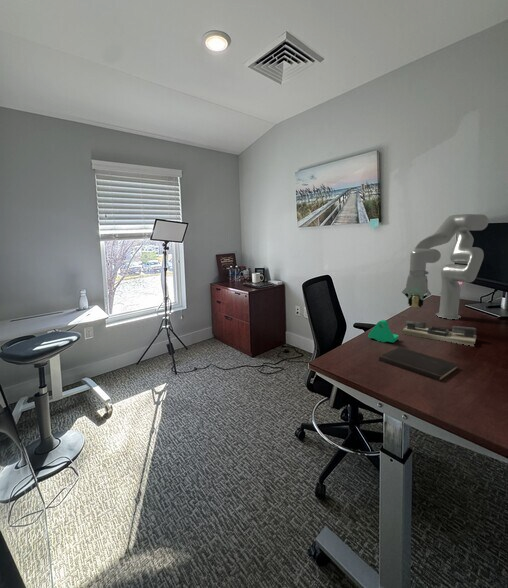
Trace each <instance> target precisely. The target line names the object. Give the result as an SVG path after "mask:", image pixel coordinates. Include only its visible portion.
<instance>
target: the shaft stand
mask: <svg viewBox="0 0 508 588" xmlns="http://www.w3.org/2000/svg"><path fill="white" fill-rule="evenodd" d="M451 328H452V329H451V331H450V330H449V328H445V327H444V328H443V327H437V326H436V327H435V326H429V327H427V322H421V321H416V320H415V321H414V320H409V319H408V320H405V327H404V328H403V329H401V334H402V335H405V334H406V335H405V336H411V335H412V336H411V337H417V338H422V337H423V339H428V338H429V339H430V340H434V341H439V340H440V341H441V342H445V341H446V342H447V343H451V342H452V344H456V343H457V345H462V344H464V345H463V346H468V345H470V346H469V347H475V345H474V344H476V340H477V328H476V327H471V326H470V327H469V326H458V325H452V327H451ZM440 341H439V342H440Z"/></svg>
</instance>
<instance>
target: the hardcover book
mask: <svg viewBox="0 0 508 588" xmlns="http://www.w3.org/2000/svg"><path fill="white" fill-rule="evenodd" d="M378 361H380V362H383V363H385V364H387V365H391V366H394V367H396V368H399V369H403V370H406V371H409V372H411V373H415V374H416V375H417V374H418V375H420V376H422V377H426V378H429V379H432V380H434V381H438V382H440V380H442V379H444V378H445V377H446V376H448V375H449V374H451V373H453V371H456V370H457V368H458V366H459V363H456V362H453V361H448V360H445V359H442V358H439V357H435V356H431V355H428V354H424V353H421V352H418V351H414V350H410V349H408V348H403V347H400V346H399V347H397V348H393V349H392V350H390V351H388V352H386V353H383V354H381V355H379V357H378Z"/></svg>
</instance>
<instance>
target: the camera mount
mask: <svg viewBox="0 0 508 588" xmlns="http://www.w3.org/2000/svg"><path fill="white" fill-rule="evenodd" d="M367 335H368V336H367V337H368V338H370V339H374V340H375V341H376V340H377V341H376V342H379V341H381V342H380V343H384V342H385V344H386V343H395V342H397V340H398V339H399V335H398V334H394V333H392V330H391V329H390V327H389V322H388V321H387V320H386V319H381V320H379V321H377V323H376V324H375V326H373V328H372V329H371V330H370V332H369V333H368V334H367Z"/></svg>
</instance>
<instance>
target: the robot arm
mask: <svg viewBox="0 0 508 588" xmlns="http://www.w3.org/2000/svg"><path fill="white" fill-rule="evenodd" d="M488 225H489V217H488V216H487V215H485V214H479V213H478V214H474V213H465V214H464V213H463V214H453V215H449V216H448V217H447V218H445V220H444V221H443V222H442V224H441V225H440V227H439V228H438V229H436V231H435V232H434V233H432V234H430V235H429V236H427V237H425V238H423V239H422V240H420V241H419V242H418V243H417V245H416V246H415V247H414V249H412V251H411V252H410V258H409V274H408V275H407V277H406V285H405V287H404V289H403V290H402V291H401V293H402V294H403V295H404V296H405V297H406V298H407V299H408V300H407V301H408V302H407V304H408V306H409V307H411V296H412V294H419V295H420V301H419V307H420V308H422V307H423V306H424V299H426V298H428V297H431V295H432V293H431V292H430V290H429V289H428V285H429V284H428V283H429V281H428V276H427V275H429V274H430V273H429V271H427V270H426V268H427V264H434V263H436V262H439V260H440V259H441V256H442V255H441V252H440V251H439V250H438V249H436V248H434V247H438V246H442V245H446V244H447V243H449V242H450V241H451V240H452V239H453V238H454V236H456V239H455V242H454V245H453V246H452V247H453V248H452V250H451V252H450V255H449V260H450V261H451V262H452V263H448V264H445V265H443V266H442V268H441V270H440V277H441V287H440V289H441V290H440V302H439V310H438V312H436V313H435V316H436V315H437V316H438V317H437V316H436V317H437V318H439V317H442V318H441V319H443V318H447V319H446V320H452V319H455V320H460V319H461V317H462V316H461V315H460V314H459V307H460V298H461V284H460V282H462V283H473V282H474V281H475V280H476V278H477V276H478V273H479V271H480V268H481V266H482V263H483V260H484V257H485V255H484V254H485V253H484V250H483V249H482V248H481V247H477V246H475V247H474V246H473V245H474V241H475V240H474V237H473V235H472V233H471V232H470V231H483V230H485V229H486V228H487V227H488ZM459 318H460V319H459Z"/></svg>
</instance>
